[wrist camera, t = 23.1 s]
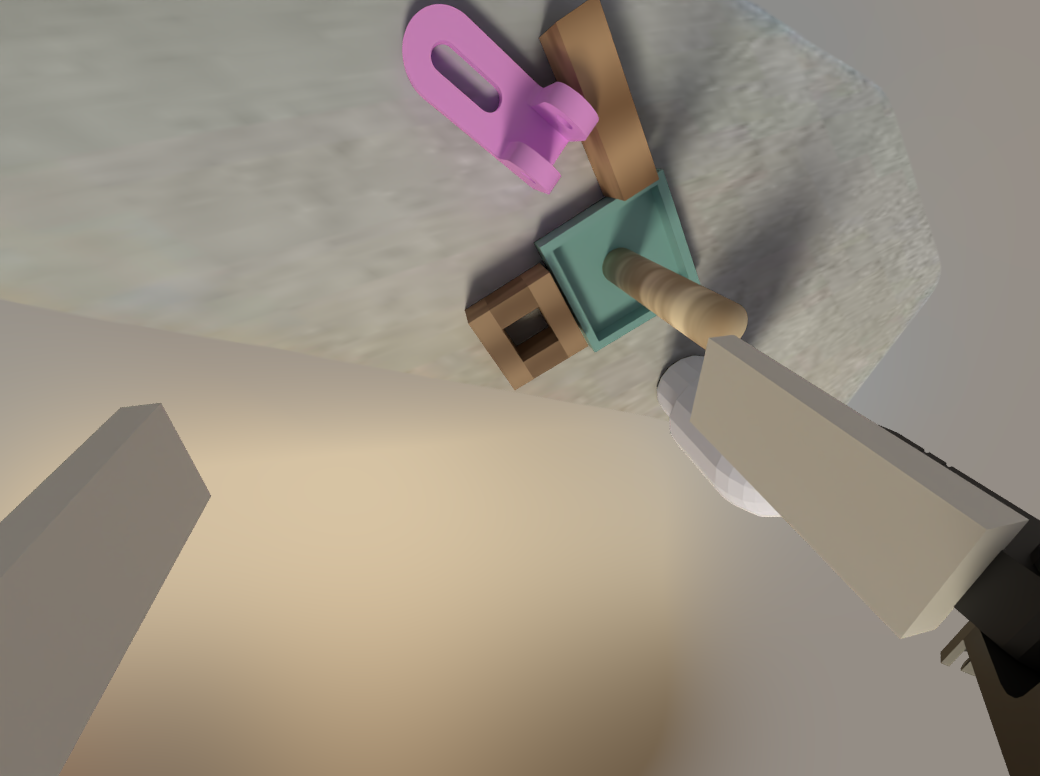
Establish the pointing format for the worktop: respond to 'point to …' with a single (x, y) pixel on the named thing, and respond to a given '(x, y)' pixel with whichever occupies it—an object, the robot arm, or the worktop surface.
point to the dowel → (675, 297)
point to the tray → (597, 232)
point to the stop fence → (602, 99)
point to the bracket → (522, 102)
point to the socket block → (514, 304)
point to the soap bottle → (678, 404)
